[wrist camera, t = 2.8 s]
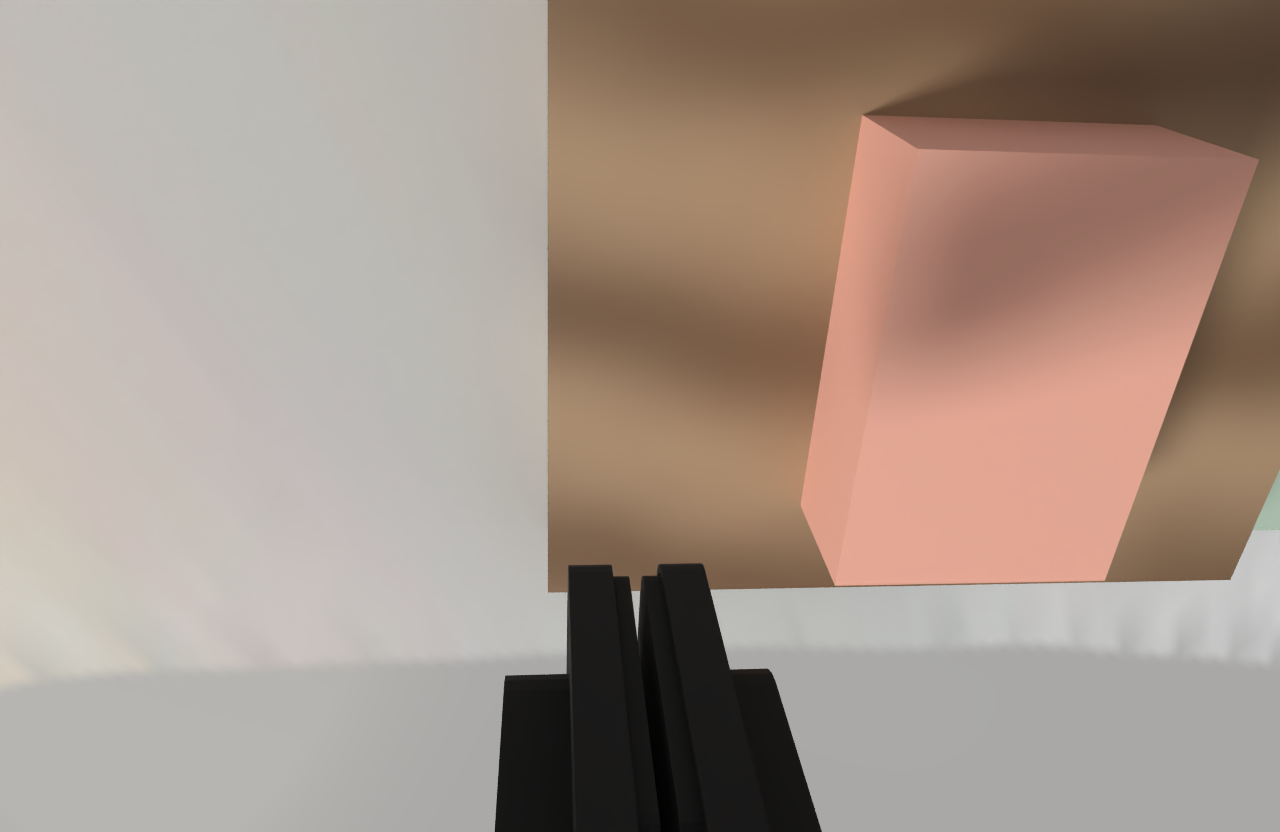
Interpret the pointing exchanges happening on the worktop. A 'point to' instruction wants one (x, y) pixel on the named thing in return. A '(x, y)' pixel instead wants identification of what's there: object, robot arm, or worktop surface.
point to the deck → (811, 244)
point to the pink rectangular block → (1007, 342)
